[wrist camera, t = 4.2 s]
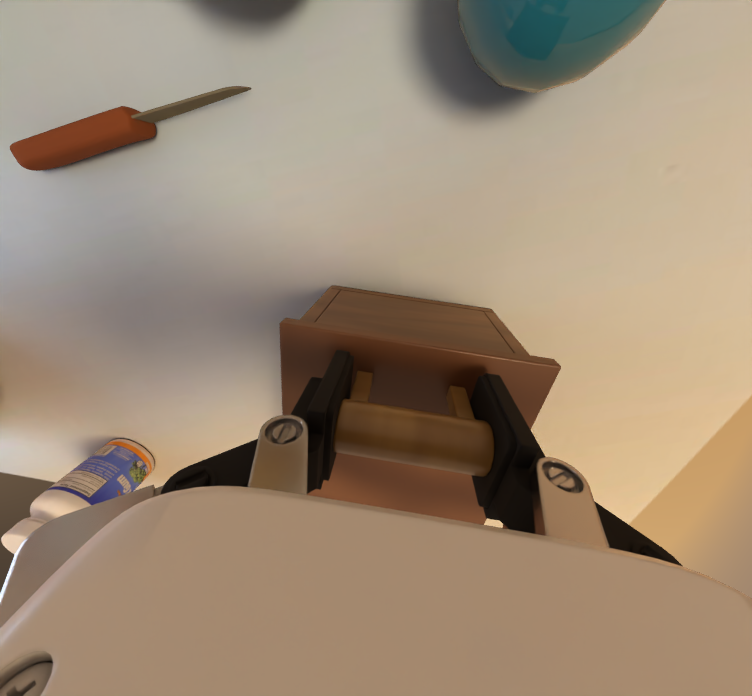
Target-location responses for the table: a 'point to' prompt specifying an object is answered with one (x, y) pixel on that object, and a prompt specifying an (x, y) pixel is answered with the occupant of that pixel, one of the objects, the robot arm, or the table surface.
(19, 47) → the table surface
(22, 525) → the pill bottle
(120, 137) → the brown screwdriver
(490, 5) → the ball
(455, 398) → the lid
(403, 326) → the chest
